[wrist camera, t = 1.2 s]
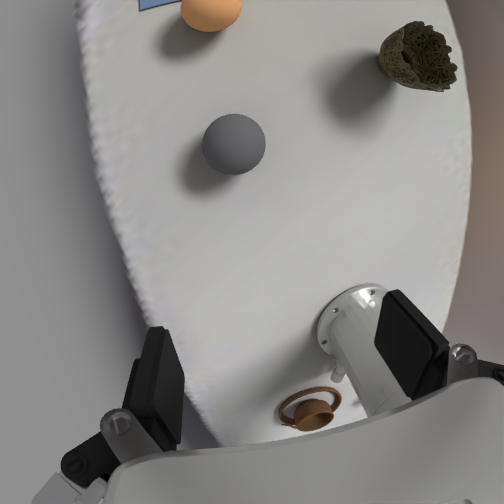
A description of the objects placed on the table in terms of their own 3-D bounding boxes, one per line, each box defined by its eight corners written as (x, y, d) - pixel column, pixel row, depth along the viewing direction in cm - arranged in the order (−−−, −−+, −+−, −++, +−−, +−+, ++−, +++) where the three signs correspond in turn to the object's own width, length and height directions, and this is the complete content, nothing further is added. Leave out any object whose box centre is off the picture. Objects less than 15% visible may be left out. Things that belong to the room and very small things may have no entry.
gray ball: (256, 173, 27) (265, 183, 22) (200, 167, 26) (197, 176, 21) (263, 119, 25) (275, 116, 20) (207, 113, 24) (205, 108, 19)
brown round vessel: (353, 36, 22) (393, 16, 14) (402, 38, 22) (445, 25, 14) (370, 96, 25) (415, 91, 18) (417, 93, 25) (463, 92, 18)
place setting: (310, 367, 41) (320, 395, 36) (386, 378, 47) (398, 399, 42) (260, 422, 47) (264, 446, 42) (335, 426, 53) (343, 446, 47)
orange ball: (234, 41, 21) (240, 22, 16) (179, 37, 20) (171, 18, 15) (242, -1, 19) (249, -25, 14) (188, -4, 18) (184, -29, 13)
